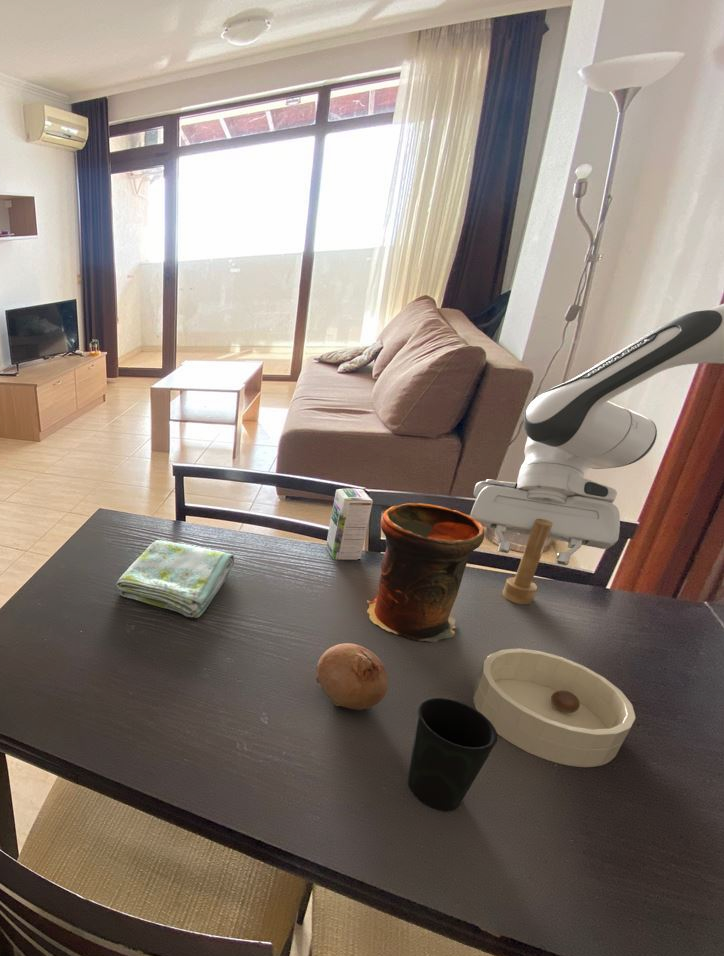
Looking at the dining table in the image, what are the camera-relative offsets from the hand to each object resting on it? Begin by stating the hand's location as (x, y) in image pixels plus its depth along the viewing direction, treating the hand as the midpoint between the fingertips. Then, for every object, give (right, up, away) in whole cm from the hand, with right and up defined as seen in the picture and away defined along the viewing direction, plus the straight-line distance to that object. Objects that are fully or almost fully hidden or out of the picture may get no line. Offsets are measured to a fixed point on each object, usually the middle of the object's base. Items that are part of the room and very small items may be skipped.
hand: (531, 557), depth 96 cm
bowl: (-16, -21, -20) cm, 33 cm away
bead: (-13, -18, -20) cm, 30 cm away
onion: (-41, -20, -14) cm, 47 cm away
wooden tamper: (+1, -8, +4) cm, 9 cm away
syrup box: (-22, -2, +22) cm, 31 cm away
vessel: (-21, -11, +2) cm, 24 cm away
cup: (-37, -27, -28) cm, 54 cm away
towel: (-60, -7, +16) cm, 63 cm away
